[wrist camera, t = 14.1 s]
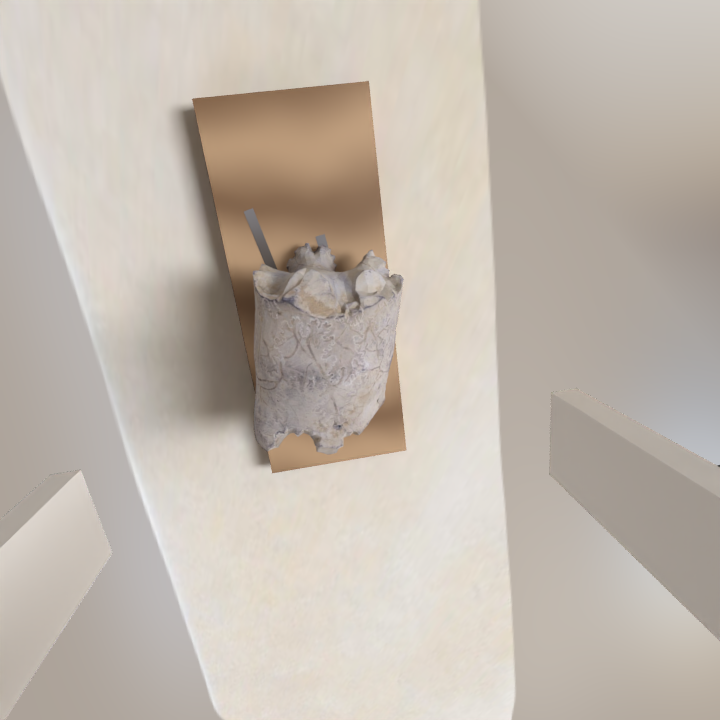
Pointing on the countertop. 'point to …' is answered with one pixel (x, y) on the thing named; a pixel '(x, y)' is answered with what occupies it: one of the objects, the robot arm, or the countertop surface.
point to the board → (299, 214)
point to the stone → (322, 347)
